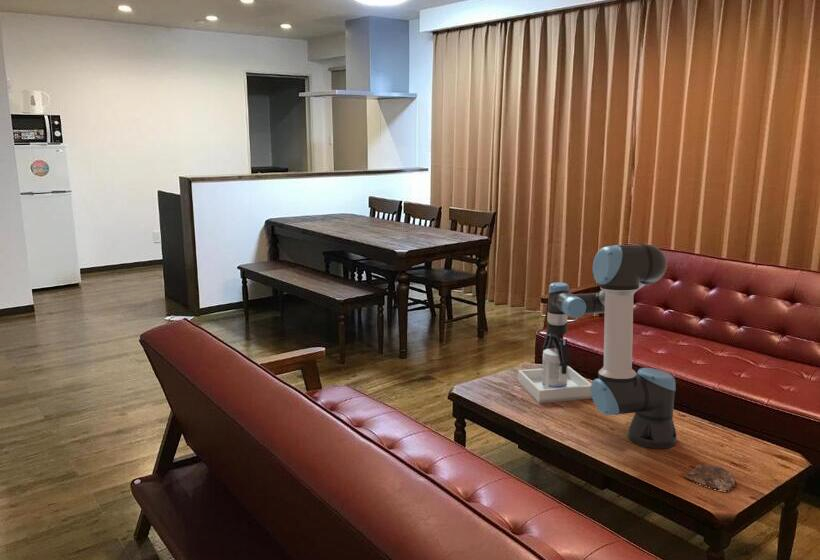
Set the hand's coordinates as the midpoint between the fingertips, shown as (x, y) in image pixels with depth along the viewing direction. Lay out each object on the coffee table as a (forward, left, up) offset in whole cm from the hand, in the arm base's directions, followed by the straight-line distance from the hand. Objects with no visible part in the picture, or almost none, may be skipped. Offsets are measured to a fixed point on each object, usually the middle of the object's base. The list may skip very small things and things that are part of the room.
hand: (554, 374), depth 256 cm
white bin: (0, 0, -6) cm, 6 cm away
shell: (-73, -17, -7) cm, 76 cm away
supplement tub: (0, 0, -5) cm, 5 cm away
